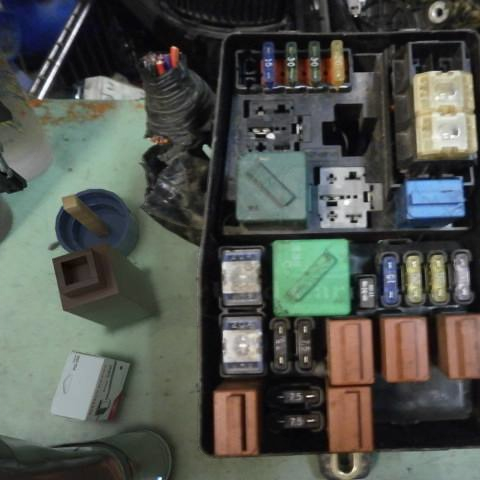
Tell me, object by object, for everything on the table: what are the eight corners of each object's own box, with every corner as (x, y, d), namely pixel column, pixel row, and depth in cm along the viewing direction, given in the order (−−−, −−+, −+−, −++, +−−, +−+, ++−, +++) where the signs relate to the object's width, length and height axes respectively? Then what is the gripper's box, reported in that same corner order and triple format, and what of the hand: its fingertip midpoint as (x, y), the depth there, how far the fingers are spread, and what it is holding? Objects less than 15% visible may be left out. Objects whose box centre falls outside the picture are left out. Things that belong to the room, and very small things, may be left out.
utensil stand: (155, 314, 85) (111, 288, 64) (111, 328, 84) (52, 306, 64) (144, 272, 86) (98, 235, 66) (101, 286, 86) (40, 252, 65)
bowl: (146, 254, 87) (137, 244, 82) (77, 275, 86) (63, 267, 81) (130, 192, 90) (120, 179, 85) (63, 212, 89) (48, 200, 83)
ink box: (114, 420, 80) (84, 424, 69) (82, 413, 80) (47, 416, 69) (131, 362, 82) (105, 356, 71) (100, 355, 83) (69, 349, 71)
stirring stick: (110, 235, 87) (77, 205, 74) (99, 238, 87) (63, 209, 74) (108, 225, 88) (74, 193, 74) (97, 228, 88) (61, 197, 74)
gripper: (-150, 6, 45) (-35, 106, 60) (-130, 155, 41) (-13, 221, 57) (-56, -16, 46) (33, 89, 61) (-29, 128, 42) (58, 200, 58)
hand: (11, 152), depth 59 cm, fingers open, 8 cm apart
